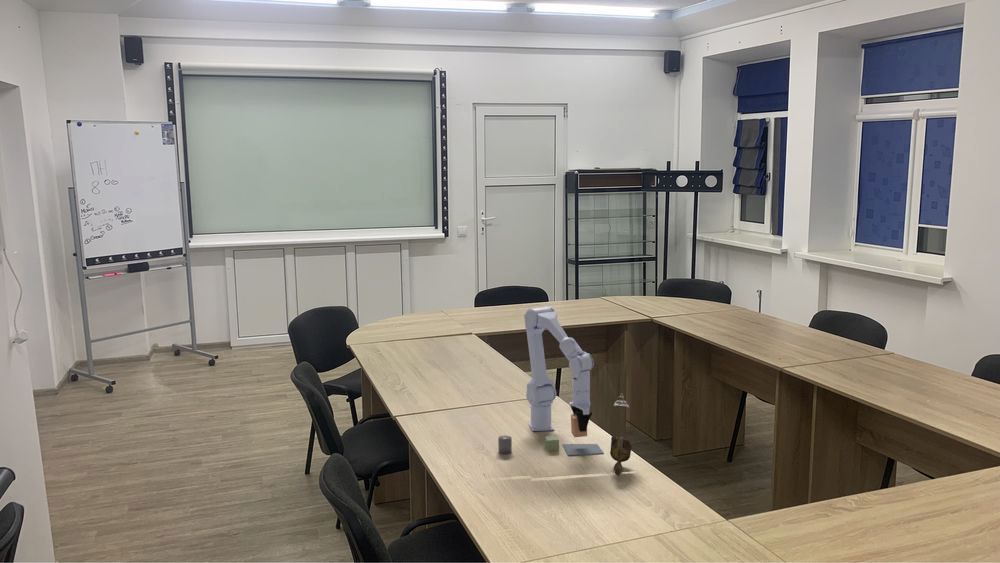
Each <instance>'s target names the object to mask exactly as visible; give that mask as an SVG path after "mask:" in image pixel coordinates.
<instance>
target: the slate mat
mask: <svg viewBox="0 0 1000 563" xmlns="http://www.w3.org/2000/svg"><path fill="white" fill-rule="evenodd" d="M561 446H562V447H563V450H564V451H565V453H566V455H567V456H568V457H574V456H577V457H578V456H592V455H593V456H594V455H604V454H605V453H604V451H603V449H601V447H600V446H599V444H598V443H561Z"/></svg>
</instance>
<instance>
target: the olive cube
mask: <svg viewBox="0 0 1000 563" xmlns="http://www.w3.org/2000/svg"><path fill="white" fill-rule="evenodd" d="M544 446H545V450H546V452H556V451H560V439H559V438H558V435H547V436H546V435H545V436H544Z"/></svg>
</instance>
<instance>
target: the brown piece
mask: <svg viewBox="0 0 1000 563" xmlns="http://www.w3.org/2000/svg"><path fill="white" fill-rule="evenodd" d="M610 440H611V441H610V451H609V454H610V458H612V460H614V461H616V462H615V464H614V465H613V471H614V474H615V476H617V477H618V476H621V474H622V473H623V471H624V468H623V467H624V466H623V464H622V463H623V462H627V461H629V459H630V458H631V454H632V448H633V447H632V442H631V441H630V440H628V439H627V438H625V437H624V436H620V437H618V436H611V439H610Z"/></svg>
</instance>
